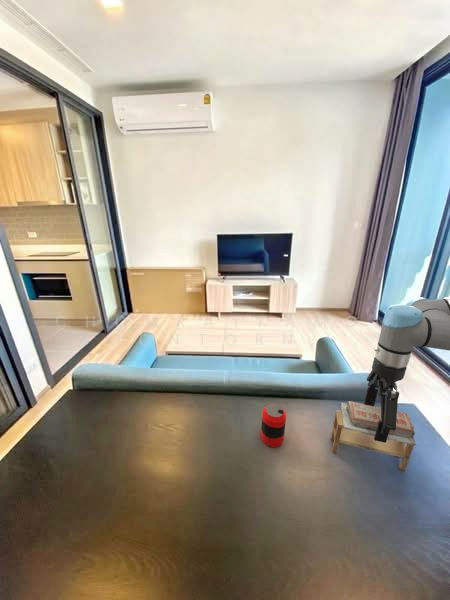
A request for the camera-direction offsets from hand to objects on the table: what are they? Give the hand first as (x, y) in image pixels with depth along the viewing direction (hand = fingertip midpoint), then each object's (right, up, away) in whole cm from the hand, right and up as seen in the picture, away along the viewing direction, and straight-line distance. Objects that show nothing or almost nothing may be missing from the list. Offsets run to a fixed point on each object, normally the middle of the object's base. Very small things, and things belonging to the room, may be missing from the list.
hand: (373, 421), depth 74 cm
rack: (0, -12, +5) cm, 13 cm away
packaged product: (0, -1, 0) cm, 1 cm away
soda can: (-29, -11, +10) cm, 32 cm away
